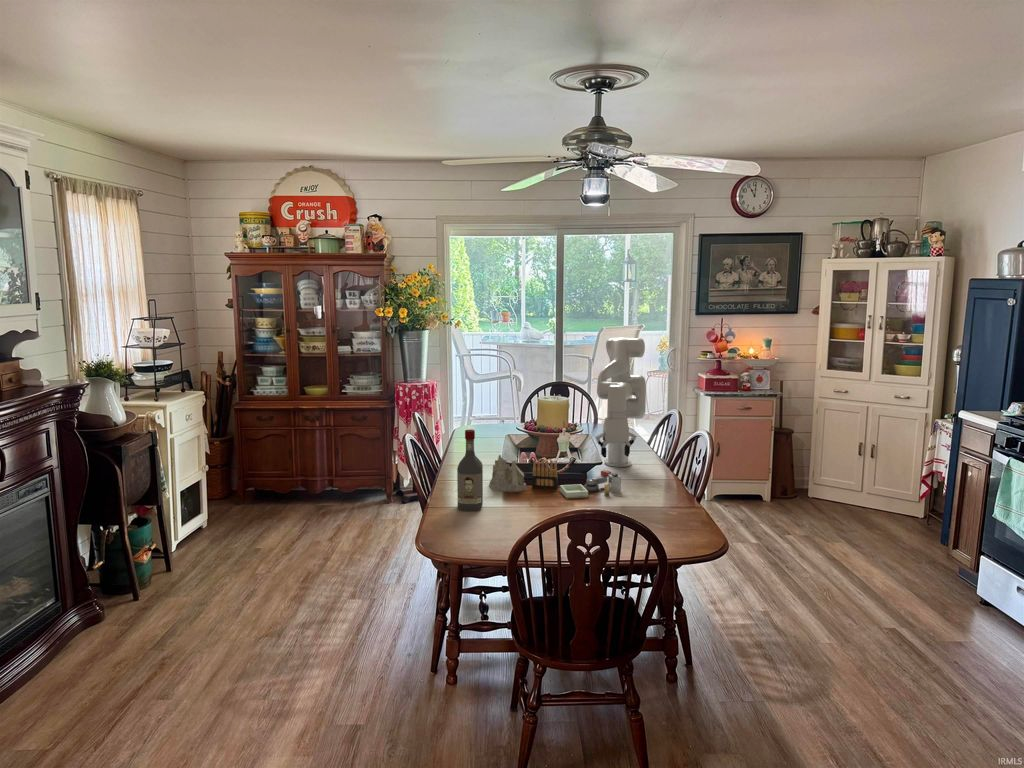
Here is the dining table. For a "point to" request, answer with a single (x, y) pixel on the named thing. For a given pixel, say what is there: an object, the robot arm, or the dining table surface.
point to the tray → (573, 491)
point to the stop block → (614, 483)
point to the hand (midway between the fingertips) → (615, 456)
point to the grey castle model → (507, 477)
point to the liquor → (470, 477)
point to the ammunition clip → (545, 476)
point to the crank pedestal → (596, 489)
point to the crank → (598, 479)
